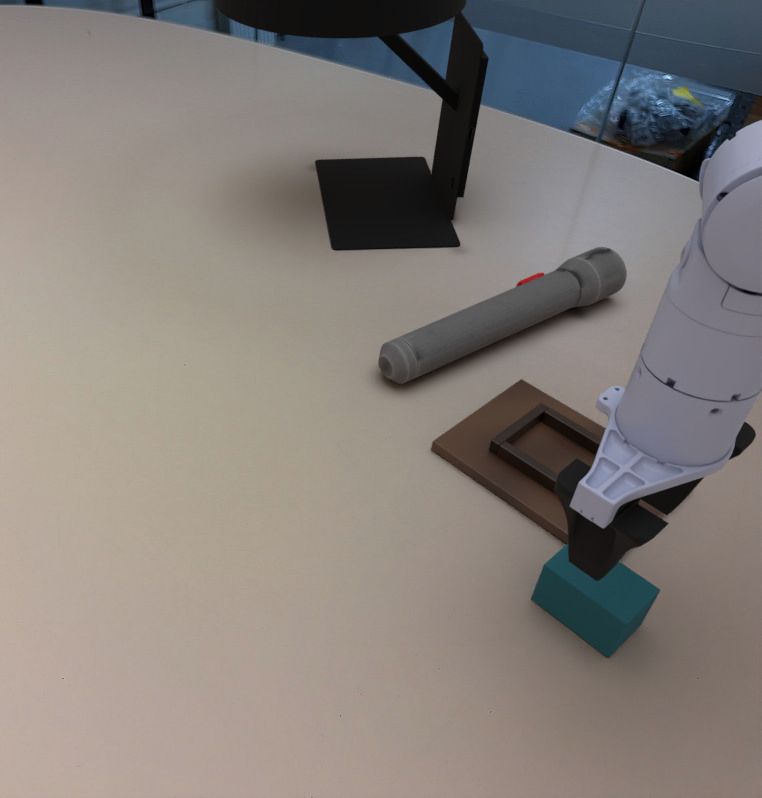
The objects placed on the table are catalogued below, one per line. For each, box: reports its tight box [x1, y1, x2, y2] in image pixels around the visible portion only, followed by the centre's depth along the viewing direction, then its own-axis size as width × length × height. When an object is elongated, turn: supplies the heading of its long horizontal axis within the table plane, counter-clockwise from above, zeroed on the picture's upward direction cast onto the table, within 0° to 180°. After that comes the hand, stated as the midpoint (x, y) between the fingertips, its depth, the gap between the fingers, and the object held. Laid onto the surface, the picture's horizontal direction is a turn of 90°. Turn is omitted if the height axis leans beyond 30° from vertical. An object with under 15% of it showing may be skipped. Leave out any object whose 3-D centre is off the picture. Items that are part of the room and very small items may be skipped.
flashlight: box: [377, 246, 628, 385], centre depth 77 cm, size 5×28×5 cm
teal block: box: [530, 543, 661, 659], centre depth 54 cm, size 6×4×4 cm, turn 39°
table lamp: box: [213, 0, 490, 251], centre depth 85 cm, size 26×28×40 cm
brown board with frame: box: [430, 378, 665, 545], centre depth 65 cm, size 16×12×2 cm
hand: (621, 534), depth 50 cm, fingers open, 7 cm apart
